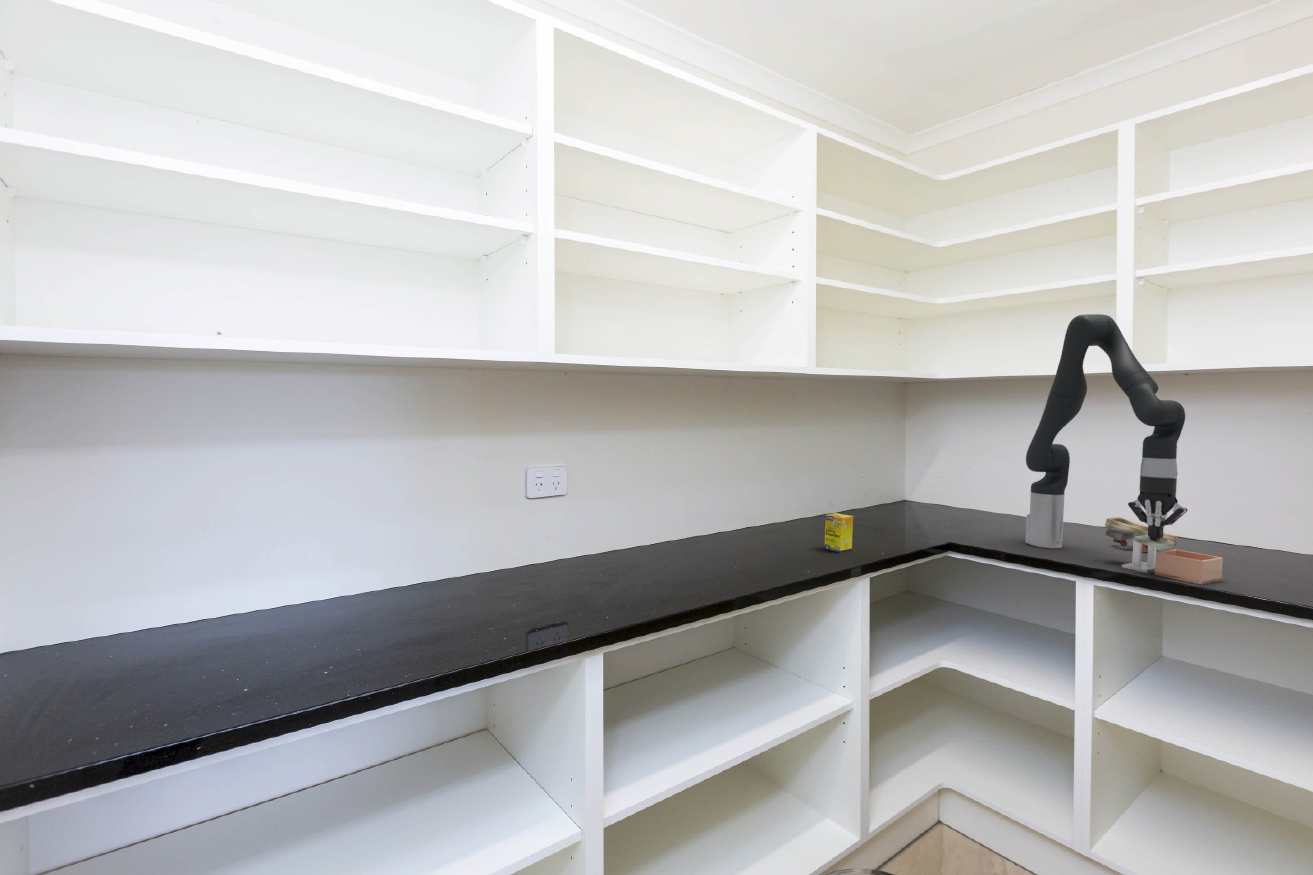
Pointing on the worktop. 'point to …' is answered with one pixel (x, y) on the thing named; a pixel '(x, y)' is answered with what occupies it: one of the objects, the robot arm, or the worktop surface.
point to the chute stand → (1136, 558)
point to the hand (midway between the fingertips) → (1155, 539)
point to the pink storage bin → (1189, 566)
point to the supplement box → (838, 532)
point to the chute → (1127, 528)
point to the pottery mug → (1124, 543)
